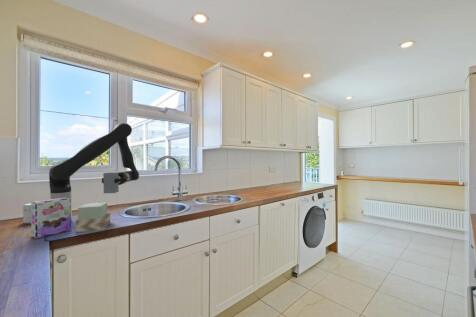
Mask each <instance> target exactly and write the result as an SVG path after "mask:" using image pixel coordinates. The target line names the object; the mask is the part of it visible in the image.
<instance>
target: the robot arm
mask: <svg viewBox="0 0 476 317" xmlns="http://www.w3.org/2000/svg"><path fill="white" fill-rule="evenodd" d="M132 131H133V129H132V126H131V125H130V124H128V123H124V122H123V123H118V124H116V125H115V126H114V127H113V130H111V131H110V132H109V133H107V134H105V135H102V136H100V137H98V138H96V139H94V140H92V141H91V142H89V143H88V144H86V145H84V146H83V147H82V148H81V149H80V150H79V151H78V152H76V153H75V154H74V155H73V156H72V157H69V159H66V160H64V161H62V162H61V163H57V164H53V165H52V166H51V167H50V169H49V173H48V176H49V177H48V178H49V190H50V191H49V194H50V199H57V198H64V197H66V198H70V204H71V205H72V185H71V178H70V177H71V176H73V175H74V174H75V173H76V172H77V171H78V170H79V169H81V168H82V167H84V166H85V165H87V164H89V163H90V162H92V161H94V160H95V159H97V158H98V157H101V155H103V154H104V153H105V152H107V151H108V150H109V149H110V148H112V147H114V145H116V144H118V148H119V152H120V157H121V162H122V167H123V168H125V169H130V170H127V171H118V178H117V179H114V183H118V186H121V185H123V184H127V183H128V182H132V181H138V180H139V177H140V173H139V171H138V170H137V167H136V164H135V162H134V156H133V153H132V150H131V147H130V146H129V143H128V137H129V136H130V135H131V134H132ZM101 183H102V184H104V180H103V177H102V178H101ZM72 211H73V210H72V207H71V222H72V221H73V217H72V216H73V215H72Z"/></svg>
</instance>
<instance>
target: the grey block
mask: <svg viewBox="0 0 476 317" xmlns="http://www.w3.org/2000/svg"><path fill="white" fill-rule="evenodd" d="M118 173H119V171H115V172H114V171H113V172H110V171H109V172H103V174H102V175H103V177H102V178H103V180H104V183H103V194H116V193H118V192H119V189H120V188H119V185H118V183H114V179H117V178H118Z"/></svg>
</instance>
